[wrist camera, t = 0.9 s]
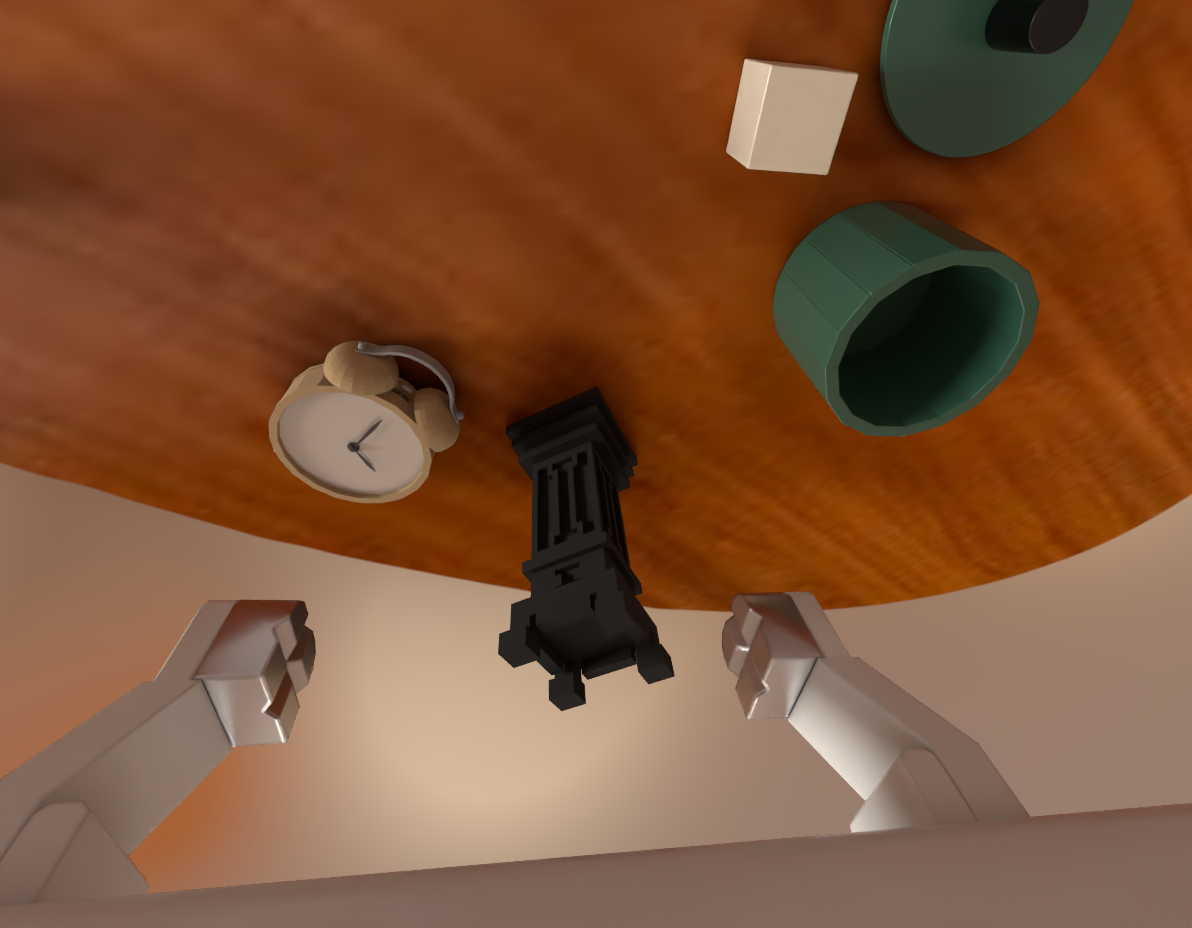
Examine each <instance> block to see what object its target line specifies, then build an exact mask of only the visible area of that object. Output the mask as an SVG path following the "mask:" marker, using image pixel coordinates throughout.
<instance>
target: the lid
mask: <svg viewBox="0 0 1192 928" xmlns="http://www.w3.org/2000/svg"><path fill="white" fill-rule="evenodd" d="M1132 3H1133V0H892V3H891V5H890V9H889V12H888V16H887V20H886V23H885V27H884V33H883V38H882V44H881V55H880V81H881V88H882V94H883V99H884V102H885V105H886V108H887V112H888V114H889V116H890V118H891V120H892V122H893V124H894V125H895V127H896V128H897V129H898V131H899V132H900V133H901V135H902V136H903V137H905V138H906V139H907V140H908V141H909V142H910V143H911V144H913V145H915V146H916V147H918V148H920V149H921V150H924V151H927V152H929V153H932V154H935V155H938V156H944V157H950V158H964V157H971V156H978V155H981V154H985V153H989V152H992V151H995V150H997V149H1000V148H1002V147H1004V146H1007V145H1009V144H1011V143H1013V142H1015V141H1016V140H1018V139H1020V138H1022V137H1024V136H1025V135H1027V134H1028V133H1030V132H1031V131H1033V130H1034V129H1036V128H1037V127H1039V126H1040V125H1041V124H1043V123H1044V122H1045V121H1046V120H1048V119H1049V118H1050V117H1052V116H1053V115H1054V114H1055V113H1056V112H1057V111H1058V110H1059V109H1060V108H1061V107H1063V106H1064V105H1065V104H1066V103H1067V102H1068V101H1069V100H1070V99H1071V98H1072V97H1073V96H1074V94H1075V93H1076V92H1077V91H1078V90H1079V89H1080V88H1081V87H1082V86H1083V84H1084V83H1085V82H1086V81H1087V79H1088V78H1089V77H1090V76H1091V74H1092V73H1093V72H1094V71H1095V69H1096V68H1097V67H1098V65H1099V64H1100V62H1101V61H1102V59H1103V58H1104V56H1105V55H1106V53H1107V52H1108V50H1109V49H1110V47H1111V45H1112V44H1113V42H1114V40H1115V38H1116V37H1117V35H1118V33H1119V31H1120V29H1121V27H1122V25H1123V23H1124V21H1125V19H1126V17H1127V15H1128V13H1129V11H1130V8H1131V6H1132Z"/></svg>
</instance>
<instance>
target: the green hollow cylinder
mask: <svg viewBox="0 0 1192 928" xmlns="http://www.w3.org/2000/svg"><path fill="white" fill-rule="evenodd" d="M1038 307H1039V300H1038V297H1037V294H1036V291H1035V288H1034V285H1033V281H1032V278H1031V275H1030V272H1029V271H1028V270H1027V269H1025V268H1024V267H1022V266H1021V265H1020V264H1018V263H1017V262H1015V261H1014V260H1012V259H1011V258H1010V257H1008V256H1007V255H1005V254H1004V253H1002V252H1001V251H999V250H997V249H995V248H993V247H991V246H989V245H987V244H985V243H983V242H981V241H979V240H978V239H976V238H974V237H972V236H970V235H968V234H966V233H964V232H962V231H960V230H958V229H957V228H955V227H953V226H951V225H949V224H947V223H945V222H943V221H941V220H939V219H937V218H935V217H934V216H932V215H930V214H928V213H926V212H924V211H922V210H920V209H918V208H916V207H914V206H913V205H909V204H903V203H899V202H892V201H876V202H869V203H864V204H860V205H857V206H853V207H851V208H849V209H846V210H844V211H841V212H840V213H838V214H836V215H834V216H832V217H830V218H829V219H827V220H826V221H825V222H823V223H822V224H820V225H819V226H818V227H817V228H815V229H814V230H813V231H812V232H811V233H809V234H808V235H807V237H806V238H805V239H804V240H803V241H802V242H801V243H800V244H799V245H798V246H797V248H796V249H795V250H794V252H793V253H792V254H791V256H790V257H789V259H788V261H787V262H786V264H785V266H784V268H783V270H782V272H781V274H780V276H779V279H778V282H777V285H776V289H775V293H774V299H773V318H774V323H775V327H776V329H777V333H778V335H779V337H780V338H781V340H782V341H783V343H784V344H785V345H786V347H787V348H788V350H789V351H790V353H791V354H792V355H793V357H794V358H795V360H796V361H797V362H798V364H799V365H800V366H801V368H802V369H803V371H804V372H805V373H806V375H807V376H808V377H809V379H810V380H811V382H812V383H813V384H814V386H815V387H816V388H817V390H818V391H819V392H820V394H821V395H822V397H823V398H824V399H825V401H826V402H827V403H828V405H829V406H830V408H831V409H832V410H833V412H834V413H835V414H836V416H837V417H838V418H839V420H840V421H841V423H843V424H845V425H847V426H849V427H851V428H853V429H855V430H858V431H860V432H862V433H864V434H866V435H870V436H907V435H910V434H914V433H917V432H921V431H925V430H928V429H932V428H935V427H939V426H941V425H943V424H945V423H947V422H948V421H950V420H952V419H954V418H955V417H957V416H959V415H961V414H962V413H964V412H966V411H968V410H969V409H971V408H973V407H975V406H976V405H977V404H979V403H980V402H981V401H982V400H983V399H984V398H985V397H986V396H987V395H988V394H990V393H991V392H992V391H993V390H994V389H995V388H996V387H997V386H998V385H999V384H1000V383H1001V382H1002V381H1004V380H1005V379H1006V378H1007V377H1008V375H1010V373H1011V372H1012V370H1013V369H1014V367H1015V365H1016V364H1017V362H1018V361H1019V359H1020V358H1021V356H1022V354H1023V353H1024V351H1025V350H1026V348H1027V346H1028V345H1029V343H1030V342H1031V339H1032V335H1033V331H1034V326H1035V321H1036V317H1037V312H1038Z"/></svg>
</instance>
